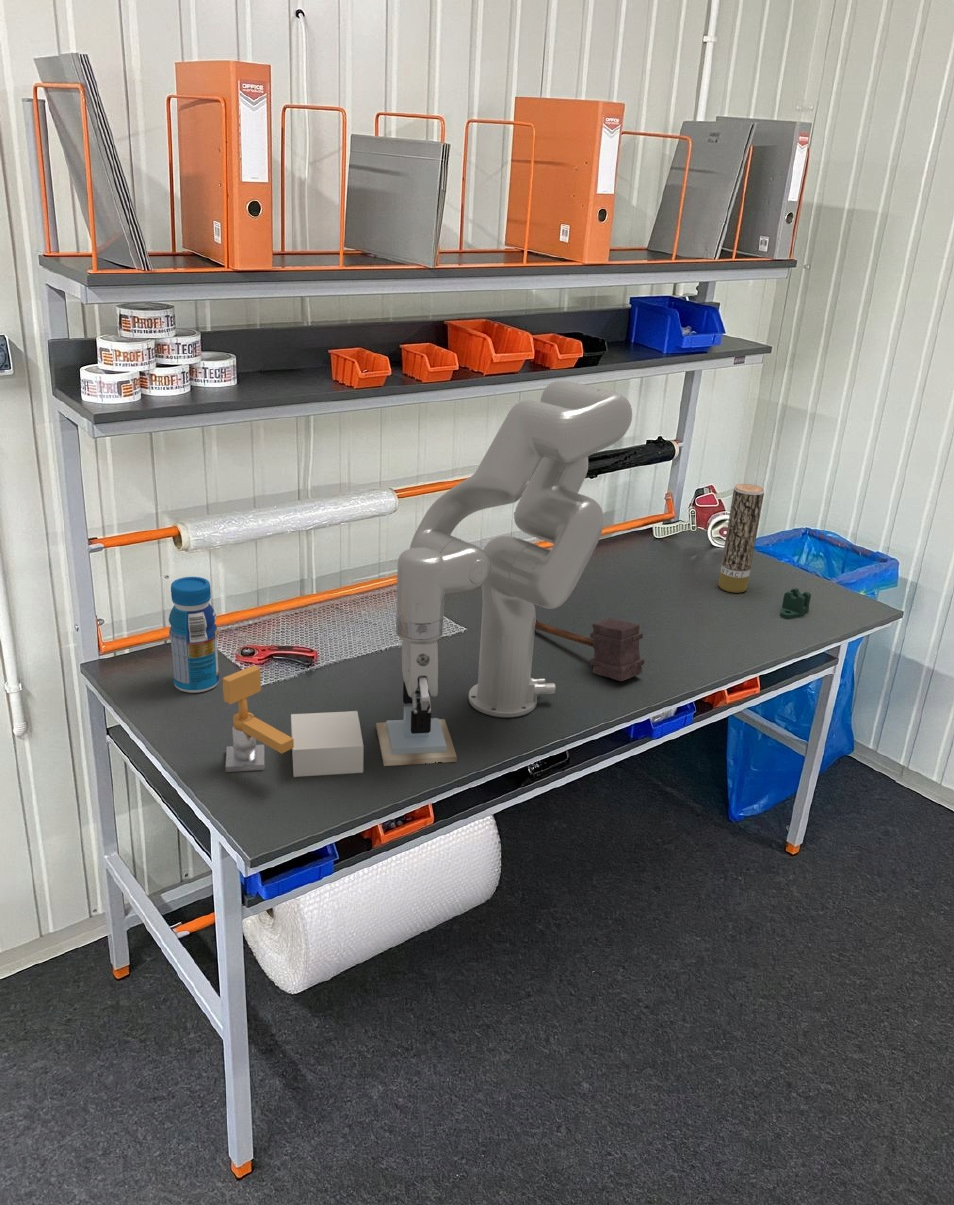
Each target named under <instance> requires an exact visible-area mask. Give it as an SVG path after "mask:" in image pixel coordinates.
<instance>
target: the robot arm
mask: <svg viewBox="0 0 954 1205" xmlns="http://www.w3.org/2000/svg"><path fill="white" fill-rule="evenodd" d="M541 393H542V394H541V397H540V400H530V399H528V400H522V401H519V402H517V403H516V404H514V405H513V406H512V407H511V408H510V410H509V411H508V413H507V415H506V417H505V419H504V420H503V422H502V424H501V426H500V428H499V429H498V432H497V433H496V435H495V436H494V438H493V440H492V441H491V444H490V445H489V447H488V449H487V450H486V453H485V455H484V456H483V458H482V460H481V462H480V464H479V465H478V467H477V469H476V470H475V472H474V473H473V474H472V475H471V476H469V477H468V478H466V479H464V480H463V481H460V482H459V483H457V484H456V485H455V486H453V487H451V488H450V489H449V490H447V491H446V492H445V493H444V494H442V495H441V496H440V497H438V498H437V499H436V500H435V501H433V503H432V505H430V507H429V508H428V509H427V511H426V513H425V514H424V516H423V518H422V520H421V521H420V524H419V525H418V527H417V528H416V531H415V532H414V535H413V537H412V540H411V542H410V545H409V548H408V549H406V550H403V551H402V552H401V554H400V555H399V556H398V559H397V571H396V572H397V578H396V580H397V581H396V582H397V583H396V615H395V616H396V617H395V618H396V620H395V634H396V636H397V637H398V638H399V639H402V641H401V642H402V643H401V671H402V677H403V683H402V684H403V685H402V686H403V688H402V702H403V704H405V705H406V704H409V705H410V704H412V706H413V711H411V733H412V734H417V733H429V732H430V731H431V718H432V706H431V697H434V698H436V697H437V696H438V695H439V649H438V648H439V647H438V640H439V639H441V637H442V636H443V632H444V611H445V608H444V607H445V595H446V594H451V593H458V592H460V593H461V592H467V591H472V590H474V589H477V588H479V587H481V590H482V591H481V592H482V594H481V595H482V608H481V609H482V614H481V615H482V616H481V626H480V627H481V628H480V644H479V658H478V660H479V661H478V673H477V678H478V679H477V683H476V684H475V685H473V686H472V687H471V688H470V689H469V690H468V703H469V704H470V705H471V707H473V708H474V709H475V710H476V711H478V712H480V713H482V714H484V715H488V716H492V717H496V718H516V717H517V718H518V717H521V716H525V715H527V714H529V713H531V712H532V711H533V710H535V708H536V707H537V704H538V703H537V702H538V696H539V695H540V694H545V695H547V694H549V695H550V694H552V695H553V694H555V693H556V684H555V683H554V682H546V678H533V677H531V675H532V665H533V663H532V662H533V652H534V643H535V642H534V640H535V631H536V629H535V622H536V620H537V619H536V618H537V617H536V615H537V614H536V607H535V605H536V606H538V607H541V608H544V609H551V610H552V609H557V608H559V607H561V606H562V605H564V604H565V603H566V601H567V600H568V599H569V598H570V596H571V595H572V593H573V592H574V589H575V588H576V586H577V584H578V582H579V580H580V578H581V577H582V575H583V573H584V570H585V569H586V567H587V565H588V563H589V561H590V560H591V557H592V555H593V553H594V552H595V549H596V547H597V545H598V543H599V541H600V539H601V537H602V536H601V535H602V532H603V530H604V529H603V528H604V520H605V519H604V512H603V509H602V507H601V505H600V504H599V503H598V501H597V500H595V499H593V498H591V497H590V496H587V495H584V494H580V493H579V492H580V489H581V487H582V486H583V483H584V481H585V479H586V478H587V473H588V472H589V471H588V470H589V457H590V456H591V455H594V454H596V453H598V452H600V451H601V450H605V449H606V448H609V447H610V446H613V445H614V444H616V443H618V442H619V441H620V440H621V439H622V438H624V436H625V435H626V434H627V432H628V430H629V429H630V426H631V424H632V421H633V408H632V405H631V403H630V401H629V400H628V399H627V397H626V396H624V395H623V394H621V393H618V392H615V391H613V390H608V389H603V388H599V387H596V386H595V387H594V386H591V385H587V384H584V383H578V382H574V381H566V380H560V381H559V380H557V381H553V382H551V383H549V384H548V385H546V387H545V388H544V390H543V392H541ZM516 502H518V503H517V505H516V508H515V511H514V516H513V519H514V523H515V525H516V527H517V528H518V529H519V530H520V531H522V532H523V533H525V534H527V535H528V536H532V537H533V538H535V539H538V540H540V541H544V542H546V543H550V544H552V547H551V549H549V548H546V547H542V546H540V545H538V544H536V543H533V542H530V541H527V540H526V539H525V540H524V539H522V538H518V537H515V536H509V535H501V536H497V537H495V538H492V539H490V541H488V542H487V543H486V545H485V546H484V547H483V548H482V547H480V546H477V545H475V544H473V543H470V542H468V541H466V540H465V541H464V540H463V539H461V538H459V537H455V536H453V535H451V534H452V533H453V532H454V530H455V528H456V527H457V526H458V525H459V524H460V523H461V522H462V521H463V520H464V519H466V518H467V517H469V516H470V515H472V514H474V513H477V512H478V511H482V510H486V509H490V508H494V507H500V506H504V505H505V506H507V505H510V504H515V503H516Z"/></svg>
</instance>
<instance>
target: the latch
mask: <svg viewBox="0 0 954 1205" xmlns="http://www.w3.org/2000/svg"><path fill="white" fill-rule="evenodd" d="M261 680H262V679H261V668H260V667H258V666H256V665H254V664H253V665H251V666H248V667H246V668H244V669H241V670H238V671H236V672H234V673H231V674H229V675H226V676H224V677H222V688H223V689H222V692H223V693H222V694H223V701H224V702H225V703H227V704H229V705H232V704H234V703H236V702H237V705H238V706H237V707H238V712H236V713H235V714H233V716H232V720H233V722H232V723H233V724H234V728H235V729H236V730H239V731H243V732H245V733H247V734H249V735H250V736H252V737H254V738H255V739H256V741H259V742H261V743H262V744H263V745H266V746H268V747H269V748H271V749H273V750H275V751H276V752H278V753H280V754H281V755H282V754H284V753H286V752H288V751H291V750H292V748H294V739H293V738H291V736H289V735H288V734H286V733H284V732H282V731H280V730H279V729H277V728H276V727H273V726H271V725H270V724H268V723H267V722H264V721H263V720H261V719H260V718H257V717H256V716H255V715H254V714H253V713H252V712H249V709H248V698H249V697H251V696H253V695H255V694H257V693H260V692H262V684H261V683H262V682H261ZM233 724H232V725H233Z"/></svg>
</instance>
